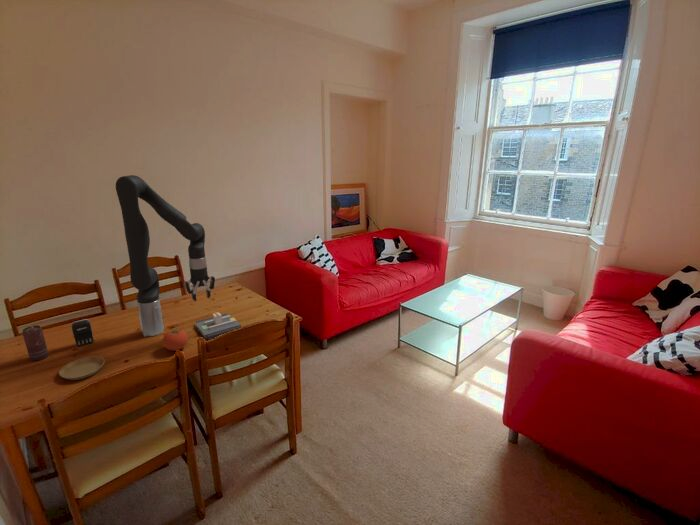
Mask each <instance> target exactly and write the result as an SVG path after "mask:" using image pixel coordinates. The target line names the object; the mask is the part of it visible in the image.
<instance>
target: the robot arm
mask: <svg viewBox="0 0 700 525" xmlns="http://www.w3.org/2000/svg"><path fill="white" fill-rule="evenodd" d="M115 191H116V195H117V197H118V202H119V205H120V210H121V216H122V222H123V228H124V229H123V230H124V235H125V240H126V241H125V243H126V246H127V252H128V257H129V270H130V273H129V274H130V283H131V285H132V287H134V288H135V289H136V290H138V291H137V295H136V301H137V308H138V312H139V313H138V317H139V318H138V319H139V323H140V324H139V325H140V328H141V334H142V335H143V337H145V338H146V337H154V336H158V335H160V334H162V333H163V332H164V330H165V328H164V327H165V326H164V320H163V314H162V307H161V300H160V291H161V290H160V282H159V281H160V280H159V274H158V272H157V270H156V269H155V268H154V267H152V266H149V263H148V259H149V258H148V257H149V251H150V246H151V245H150V243H151V240H150V238H151V237H150V231H149V226H148V223H147V221H146V220H145V217H144V216H143V215H142V212H141V210H140V205H139V204H140V203H139V199H140V200H142V201H144V202H145V203H147V204H148V205H149V206H150V207H151V208H153V210H154V211H155V212H156V214H157V215H158V216H159V217H160V218H162V220H164V221H165V222H167V224H169V225H171V226H172V227H174V228H175V229H176V231H177V232H179V234H180V235H181V236H182V237H183V238H185V239H187V240H188V241H189V245H188V248H187V252H188V267H189V274H190V279H189V280H187V281H186V280H184V281H183V283H184V287H185V290H186V293H188V294H189V295H190V294H191V298H192V300H193V301H194V302H197V294H196V292H197V290H198V288H200V287H205V289H206V290H205V293H206V298H207V299H210V298H211V290H214V289H215V282H216V278H215V277H214V275H211V276H209V274H208V265H207V258H206V251H205V242H206V231H205V228H204V227H203V225H202V224H200V223H198V222H194V223H191V222H189V221H188V220H187V216H186V215H185V214H184V213H182V212H181V211H180V210H178V209H177V208H176V207H174V206H173V205H171V204H170V203H168V201H166V200H165V199H164V198H163V197H162V196H160V195H159V194H158V193H157V192H156V191H155V190H154V189H153V188H152V187H151V186H150V185H149V184H148V183H147V182H146V181H145V180H144V179H143V178H142V177H140V176H138V175H134V174H133V175H131V174H130V175H124V176H123V175H122V176H120V177H118V178H117V179H116V182H115ZM208 281H209V284H208ZM191 284H192V287H191V288H190V285H191Z"/></svg>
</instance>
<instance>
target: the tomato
mask: <svg viewBox="0 0 700 525" xmlns="http://www.w3.org/2000/svg"><path fill="white" fill-rule="evenodd" d="M188 340H189V337H188V333H187V332H186V331H185V330H182V329H178V328H173V329H170V330H169V331H166V333H165V334H164V336H163V338H162V344H163V346H164V347H165V349H167V350H169V351H175V352H176V351H179V350H181V349H183V348H184V347H185V346H186V345H187V344H188ZM178 349H179V350H178Z"/></svg>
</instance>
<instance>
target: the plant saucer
mask: <svg viewBox="0 0 700 525" xmlns="http://www.w3.org/2000/svg"><path fill="white" fill-rule="evenodd" d="M104 364H105V358H103V357H101V356H96V355H94V356H85V357H82V358H79V359H74V360H73V361H70V362H68V363H67V364H66V365H63V367H61V368H60V370H59V372H58V375H59V376H60V377H61V378H63V379H66V380H70V381H78V380H82V379H86V378H89V377H92V376H93V375H95V374H96V373H98V372H99V371H100V370H101V369H102V367H103V366H104Z"/></svg>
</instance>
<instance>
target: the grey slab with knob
mask: <svg viewBox="0 0 700 525" xmlns="http://www.w3.org/2000/svg"><path fill="white" fill-rule="evenodd" d="M221 315H222V316H224V315H228V313H223V314H221ZM209 319H213V316H212V317H211V316H210V317H208V318H204V319H200V320H196V321H195V323H198V322H202V321H205V320H209ZM238 328H241V329H242V326H241V327H240V326H237V327H234V328H230V329H227V330H223V331H220V332H216V333H213V334H209V335H207V338H208V339H207V338H206V339H207V340H208V341H210V340H213V338H214V339H216V338H215V337H217V336H219V335H221V334H224V333H227V332H229V331H232V330H234V329H238ZM217 338H218V337H217Z"/></svg>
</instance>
